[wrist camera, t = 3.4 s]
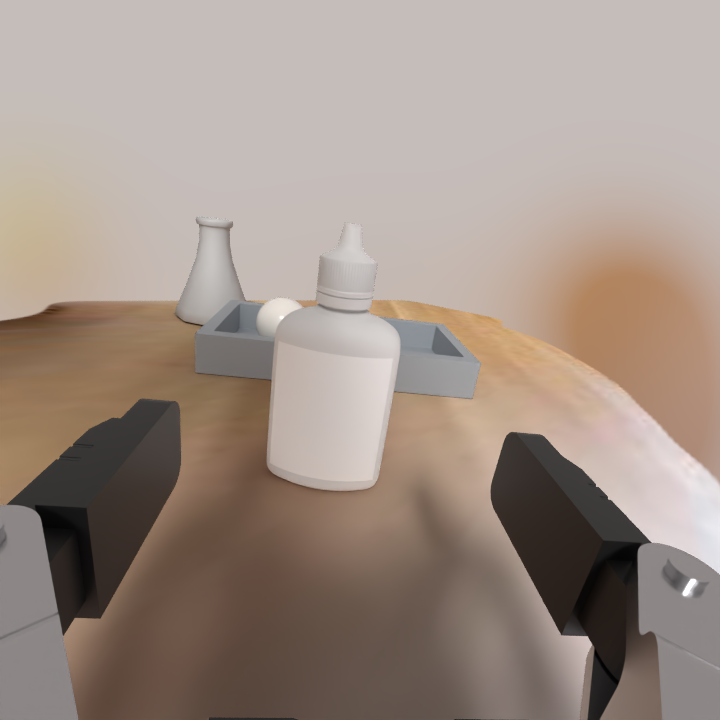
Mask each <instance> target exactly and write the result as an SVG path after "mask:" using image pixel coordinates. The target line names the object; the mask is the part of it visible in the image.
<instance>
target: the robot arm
mask: <svg viewBox="0 0 720 720" xmlns="http://www.w3.org/2000/svg"><path fill="white" fill-rule="evenodd" d="M180 465H181V436H180V408H179V405H178V403H177V402H175V401H164V400H152V399H140V400H139V401H138V402H137V403H136V404H135V405H134V406H133V407H132V408H131V409H130V410H129V411H128V412H127V413H126V414H125V415H124V416H123V417H122V418H121V419H120V418H111V419H109V420H107V421H105V422H103V423H101V424H99V425H97V426H95V427H93V428H91V429H89V430H88V431H87V432H86V433H85V434H83V435H82V436H81V437H80V438H79V439H78V440H77V441H76V442H75V443H74V444H73V447H69V448H68V449H67V450H66V451H65V452H64V453H63V454H62V455H60V458H59V460H57V459H56V460H55V461H54V462H53V463H52V464H51V465H50V466H48V467H47V468H46V469H45V470H44V471H43V472H42V473H41V474H40V475H39V476H38V477H36V478H35V479H34V480H33V481H32V482H31V483H30V484H29V485H28V486H27V487H26V488H24V489H23V490H22V491H21V492H20V493H19V494H18V495H17V496H16V497H15V498H14V499H12V500H11V501H10V502H9V503H8V504H7V505H0V720H78V715H77V709H76V704H75V699H74V693H73V688H72V682H71V677H70V672H69V666H68V661H67V655H66V650H65V645H64V639H63V636H64V634H65V632H66V631H67V629H68V628H69V626H70V624H71V623H72V621H73V620H74V618H99V619H100V618H101V616H102V615H103V613H104V611H105V609H106V608H107V606H108V604H109V602H110V600H111V599H112V597H113V595H114V593H115V592H116V590H117V588H118V586H119V585H120V583H121V581H122V579H123V577H124V576H125V574H126V572H127V570H128V569H129V567H130V565H131V563H132V561H133V560H134V558H135V556H136V554H137V553H138V551H139V549H140V547H141V545H142V544H143V542H144V540H145V538H146V537H147V535H148V533H149V531H150V529H151V528H152V526H153V524H154V522H155V521H156V519H157V517H158V515H159V513H160V512H161V510H162V508H163V506H164V505H165V503H166V501H167V499H168V498H169V496H170V494H171V492H172V490H173V489H174V487H175V485H176V482H177V479H178V476H179V472H180ZM491 501H492V505H493V508H494V510H495V512H496V514H497V516H498V518H499V519H500V521H501V523H502V525H503V527H504V529H505V531H506V533H507V534H508V536H509V538H510V540H511V542H512V544H513V546H514V547H515V549H516V551H517V553H518V555H519V557H520V559H521V561H522V562H523V564H524V566H525V568H526V570H527V572H528V574H529V576H530V577H531V579H532V581H533V583H534V585H535V587H536V589H537V590H538V592H539V594H540V596H541V598H542V600H543V602H544V604H545V605H546V607H547V609H548V611H549V613H550V615H551V617H552V618H553V620H554V622H555V624H556V626H557V628H558V630H559V632H560V633H561V635H569V636H588V638H589V639H590V641H591V643H592V646H591V648H590V650H589V652H588V654H587V658H586V666H585V675H584V684H583V693H582V702H581V711H580V719H579V720H720V575H719V574H718V573H717V572H716V571H715V570H713V569H712V568H711V567H709V566H708V565H707V564H705V563H704V562H702V561H700V560H699V559H697V558H695V557H694V556H692V555H690V554H688V553H686V552H684V551H682V550H679V549H677V548H674V547H671V546H668V545H664V544H659V543H651V542H650V541H649V540H648V538H647V537H646V536H645V535H644V534H643V533H642V532H641V531H640V530H639V529H638V528H637V527H636V526H635V525H634V524H633V523H632V522H631V521H630V520H629V518H628V517H627V516H626V515H625V514H624V513H623V512H622V511H621V510H620V509H619V508H618V507H617V506H616V505H615V504H614V503H613V502H612V501H611V500H608V496H607V495H606V494H605V493H604V492H603V491H602V490H601V489H600V488H599V487H596V484H595V483H594V482H593V481H592V480H591V479H590V477H589V476H588V475H587V474H586V473H585V472H584V471H583V470H582V469H581V468H579V467H578V466H576V465H575V464H573V463H572V462H570V461H569V460H567V459H566V458H564V457H563V456H562V455H561V454H560V453H559V452H558V451H557V450H556V449H555V448H554V447H553V446H552V445H551V444H550V442H549V441H548V440H547V439H546V438H545V437H544V436H542V435H539V434H528V433H517V432H511V433H509V434H508V435H507V436H506V438H505V440H504V443H503V447H502V450H501V453H500V457H499V460H498V463H497V467H496V470H495V473H494V477H493V480H492V484H491ZM209 720H297V719H294V718H209ZM455 720H479V719H455Z"/></svg>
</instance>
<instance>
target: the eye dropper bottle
mask: <svg viewBox="0 0 720 720" xmlns="http://www.w3.org/2000/svg"><path fill="white" fill-rule="evenodd" d="M362 243H363V242H362V225H359V224H353V223H345V224H344V227H343V231H342V234H341V237H340V241H339V243H338V245H337V247H336V248H335V249H333V250H332V251H329V252H327V253H324V254H322V255H321V256H320V264H319V273H318V283H317V293H316V301H317V302H318V303H319V304H318V305H317V306H311V307H305V308H301V309H297V310H295V311H293V312H291V313H289V314H288V315H286V316H285V317H284V318H283V319H282V320H281V321H280V323H279V324H278V326H277V329H276V334H275V342H274V354H273V367H272V382H271V396H270V412H269V427H268V443H267V467H268V469H269V470H270V471H271V472H272V473H273V474H275V475H277V476H278V477H281V478H283V479H285V480H288V481H290V482H293V483H296V484H299V485H302V486H306V487H310V488H315V489H321V490H329V491H355V490H364V489H368V488H370V487H372V486H374V484H375V483H376V481H377V480H378V477H379V472H380V467H381V461H382V456H383V450H384V444H385V439H386V433H387V428H388V422H389V416H390V411H391V405H392V399H393V393H394V388H395V382H396V376H397V370H398V363H399V357H400V347H401V343H400V337H399V334H398V332H397V330H396V329H395V328H394V327H393V326H392V325H390V324H389V323H388V322H386V321H385V320H383V319H381V318H379V317H377V316H375V315H373V314H371V313H369V311H368V310H367V309H370V308H371V305H372V297H373V291H374V284H375V277H376V270H377V263H376V261H375V260H373V259H372V258H370V257H369V256H368V255H367V254H366V253H365V251H364V249H363V244H362Z"/></svg>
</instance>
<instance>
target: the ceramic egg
mask: <svg viewBox="0 0 720 720" xmlns="http://www.w3.org/2000/svg"><path fill="white" fill-rule="evenodd" d="M301 308H303V307H302V306H301V305H300V304H299V303H298V302H296V301H295V300H292V299H289V298H285V297H279V298H274V299H272V300H269V301H268V302H266V303H265V304H264V305H263V306H262V307H261V308H260V310H259V312H258V314H257V318H256V329H257V332H258V334H259V336H267V337H275V334H276V329H277V326H278V324H279V323H280V321H281V320H282V319H283V318H284V317H285V316H286V315H288V314H289V313H291V312H293V311H295V310H297V309H301Z"/></svg>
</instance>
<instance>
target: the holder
mask: <svg viewBox="0 0 720 720" xmlns="http://www.w3.org/2000/svg"><path fill="white" fill-rule="evenodd" d="M263 305H264V303H255V302H246V301H238V300H230V301H229V302H228V303H227V304H226V305H225V306H224V307H223V308H222V309H221V310H220V311H219V312H217V313H216V314H215V315H214V316H213V317H212V318H211V319H210V320H209V321H208V322H207V323H206V324H205V325H203V326H202V327H201V328H200V329H199V330H198V331H197V332H196V333H195V373H205V374H215V375H226V376H236V377H247V378H257V379H268V380H272V367H273V354H274V342H275V337H267V336H259V334H258V332H257V329H256V318H257V314H258V312H259V310H260V308H261V307H262V306H263ZM379 318H381V319H383V320H385V321H386V322H388V323H389V324H390V325H392V326H393V327H394V328H395V329H396V330H397V332H398V334H399V337H400V343H401V347H400V357H399V363H398V370H397V376H396V382H395V388H394V391H395V392H406V393H416V394H427V395H438V396H448V397H459V398H469V399H472V397H473V393H474V389H475V385H476V381H477V378H478V374H479V370H480V366H481V363H480V362H479V361H478V360H477V359H476V357H475V356H474V355H473V354H472V353H471V352H470V351H469V350H468V349H467V348H466V347H465V346H464V345H463V344H462V343H461V342H460V341H459V340H458V339H457V338H456V337H455V336H454V335H453V334H452V333H451V332H450V331H449V329H448V328H447V327H446V326H445V325H444V324H438V323H429V322H421V321H412V320H403V319H394V318H386V317H379Z"/></svg>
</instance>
